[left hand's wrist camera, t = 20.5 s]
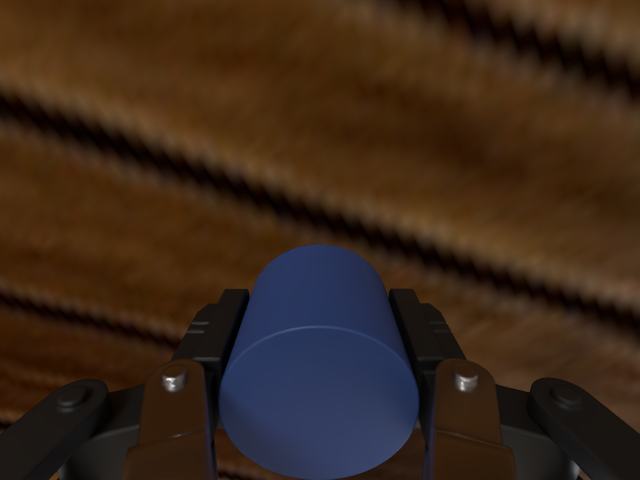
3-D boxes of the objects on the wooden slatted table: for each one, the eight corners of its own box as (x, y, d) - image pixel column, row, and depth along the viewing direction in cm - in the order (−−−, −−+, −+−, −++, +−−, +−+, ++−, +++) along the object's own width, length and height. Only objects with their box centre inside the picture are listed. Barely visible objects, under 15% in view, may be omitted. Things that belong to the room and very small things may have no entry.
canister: (223, 305, 13) (175, 410, 9) (320, 214, 12) (320, 285, 7) (318, 381, 14) (317, 506, 10) (414, 307, 13) (461, 412, 9)
